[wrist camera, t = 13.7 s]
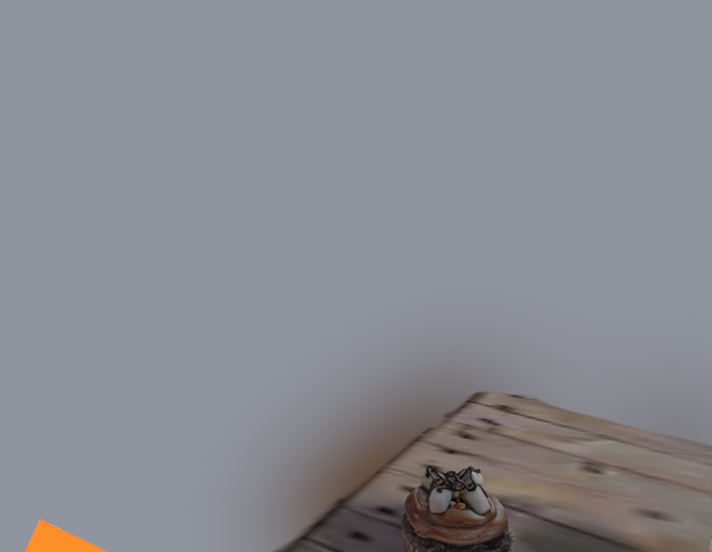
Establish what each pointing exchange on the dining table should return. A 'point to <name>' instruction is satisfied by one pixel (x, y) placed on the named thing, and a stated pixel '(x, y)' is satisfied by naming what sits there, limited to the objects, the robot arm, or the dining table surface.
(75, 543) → the orange juice
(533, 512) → the dining table surface
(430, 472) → the cupcake
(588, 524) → the dining table surface
